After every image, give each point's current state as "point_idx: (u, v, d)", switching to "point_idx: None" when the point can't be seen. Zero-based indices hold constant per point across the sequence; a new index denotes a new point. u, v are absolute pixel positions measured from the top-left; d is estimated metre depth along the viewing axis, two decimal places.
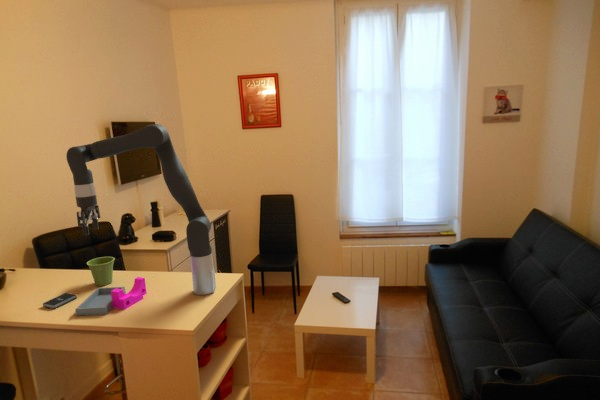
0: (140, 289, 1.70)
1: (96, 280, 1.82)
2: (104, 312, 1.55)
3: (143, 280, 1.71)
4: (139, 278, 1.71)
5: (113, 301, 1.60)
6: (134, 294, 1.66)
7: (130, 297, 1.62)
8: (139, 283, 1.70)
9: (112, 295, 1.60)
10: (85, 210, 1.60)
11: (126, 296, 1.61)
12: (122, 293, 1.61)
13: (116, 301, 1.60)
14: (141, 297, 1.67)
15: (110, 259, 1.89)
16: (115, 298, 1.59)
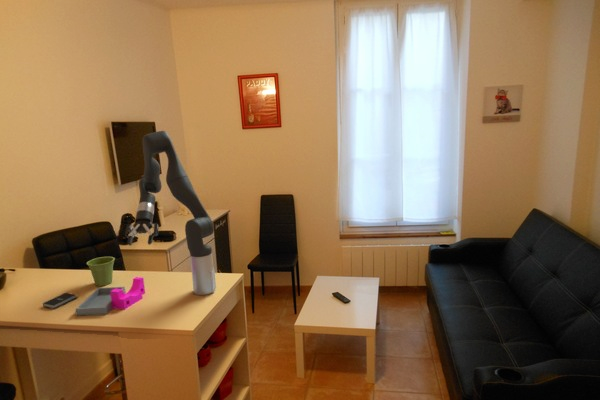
0: (139, 289, 1.70)
1: (96, 280, 1.82)
2: (104, 312, 1.55)
3: (142, 280, 1.71)
4: (138, 278, 1.72)
5: (113, 301, 1.60)
6: (133, 294, 1.66)
7: (130, 296, 1.62)
8: (138, 283, 1.70)
9: (111, 295, 1.60)
10: (134, 224, 1.82)
11: (126, 296, 1.61)
12: (122, 293, 1.61)
13: (116, 301, 1.60)
14: (140, 297, 1.67)
15: (110, 259, 1.89)
16: (114, 298, 1.59)
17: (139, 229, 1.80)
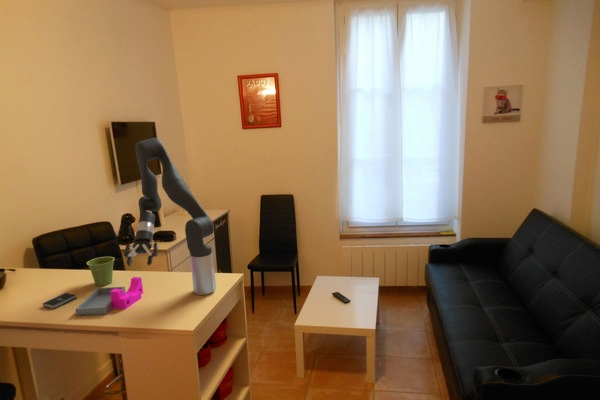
0: (137, 289, 1.70)
1: (96, 280, 1.82)
2: (104, 312, 1.55)
3: (140, 280, 1.72)
4: (136, 278, 1.72)
5: (113, 302, 1.60)
6: (132, 294, 1.67)
7: (130, 296, 1.62)
8: (136, 283, 1.71)
9: (111, 295, 1.59)
10: (133, 244, 1.80)
11: (126, 296, 1.61)
12: (122, 293, 1.61)
13: (116, 301, 1.59)
14: (139, 296, 1.68)
15: (110, 259, 1.89)
16: (114, 298, 1.59)
17: (138, 249, 1.78)
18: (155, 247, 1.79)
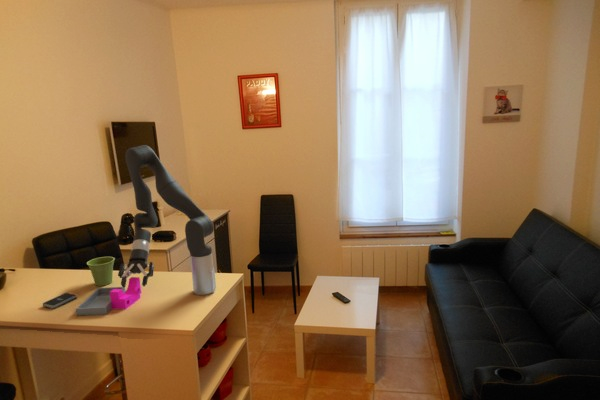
0: (136, 289, 1.70)
1: (96, 280, 1.82)
2: (104, 312, 1.55)
3: (138, 280, 1.72)
4: (134, 278, 1.72)
5: (113, 302, 1.60)
6: (131, 294, 1.67)
7: (130, 296, 1.62)
8: (134, 283, 1.71)
9: (111, 295, 1.59)
10: (128, 263, 1.73)
11: (126, 296, 1.61)
12: (121, 293, 1.61)
13: (116, 301, 1.59)
14: (139, 296, 1.68)
15: (110, 259, 1.89)
16: (114, 298, 1.59)
17: (133, 269, 1.71)
18: (150, 267, 1.72)
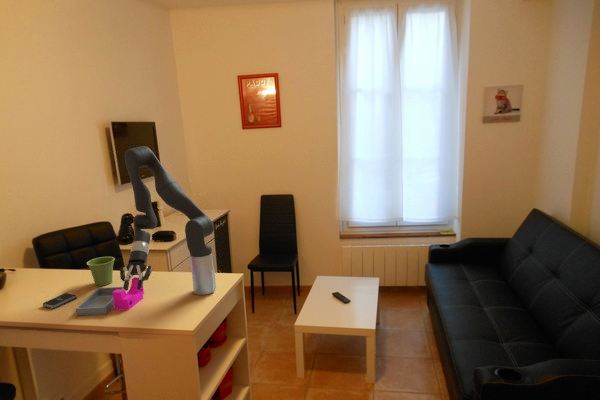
0: None
1: (96, 280, 1.82)
2: (104, 312, 1.55)
3: None
4: (136, 278, 1.71)
5: (115, 302, 1.59)
6: (134, 294, 1.66)
7: (133, 296, 1.61)
8: (137, 283, 1.70)
9: (114, 296, 1.58)
10: (127, 265, 1.72)
11: (128, 296, 1.60)
12: (124, 293, 1.60)
13: (119, 302, 1.58)
14: (141, 297, 1.67)
15: (110, 259, 1.89)
16: (117, 299, 1.58)
17: (134, 270, 1.71)
18: (148, 271, 1.71)
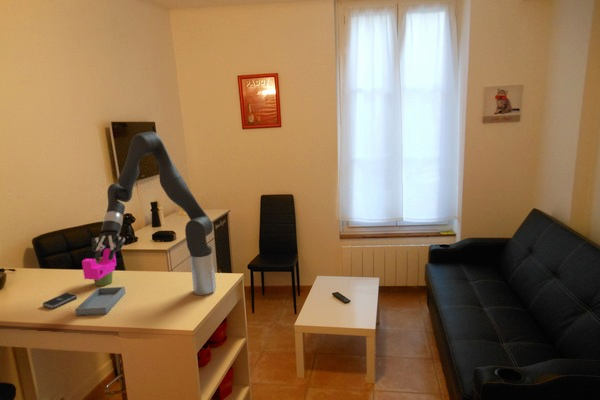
0: (110, 260, 1.66)
1: (96, 280, 1.82)
2: (104, 312, 1.55)
3: None
4: (108, 249, 1.67)
5: (85, 272, 1.55)
6: (105, 264, 1.62)
7: (103, 266, 1.57)
8: None
9: (83, 265, 1.54)
10: (99, 235, 1.68)
11: (99, 266, 1.57)
12: (94, 263, 1.56)
13: (88, 271, 1.54)
14: (113, 267, 1.63)
15: None
16: (87, 268, 1.54)
17: (106, 241, 1.67)
18: (120, 241, 1.67)
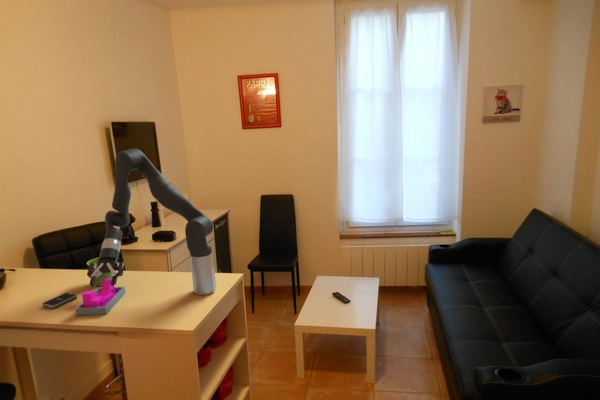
0: (109, 290, 1.68)
1: (96, 280, 1.82)
2: (104, 312, 1.55)
3: None
4: (107, 279, 1.69)
5: (85, 304, 1.57)
6: (105, 295, 1.64)
7: (103, 298, 1.59)
8: (108, 284, 1.68)
9: (83, 297, 1.56)
10: None
11: (98, 298, 1.58)
12: (94, 295, 1.58)
13: (88, 303, 1.56)
14: None
15: None
16: (87, 300, 1.56)
17: (103, 269, 1.68)
18: (120, 266, 1.69)
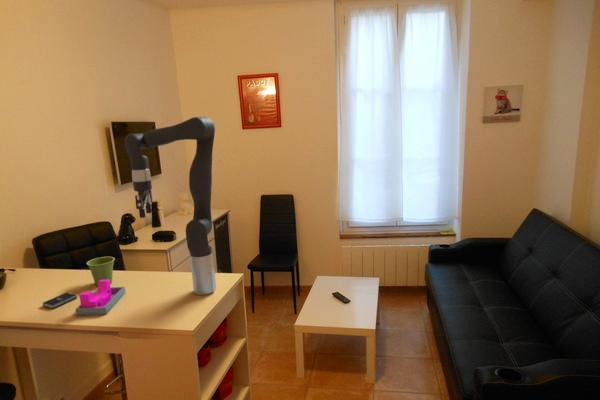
0: (106, 291, 1.67)
1: (96, 280, 1.82)
2: (104, 312, 1.55)
3: (108, 282, 1.69)
4: (103, 280, 1.68)
5: (83, 305, 1.56)
6: (102, 296, 1.63)
7: (101, 298, 1.59)
8: (104, 285, 1.67)
9: (81, 298, 1.55)
10: (142, 194, 1.70)
11: (96, 298, 1.58)
12: (92, 296, 1.57)
13: (86, 304, 1.56)
14: (109, 298, 1.65)
15: (110, 259, 1.89)
16: (84, 301, 1.55)
17: None
18: (151, 195, 1.81)
